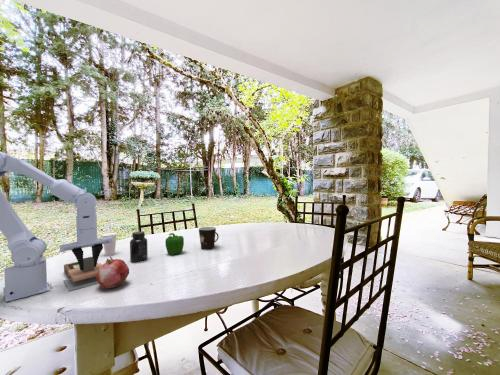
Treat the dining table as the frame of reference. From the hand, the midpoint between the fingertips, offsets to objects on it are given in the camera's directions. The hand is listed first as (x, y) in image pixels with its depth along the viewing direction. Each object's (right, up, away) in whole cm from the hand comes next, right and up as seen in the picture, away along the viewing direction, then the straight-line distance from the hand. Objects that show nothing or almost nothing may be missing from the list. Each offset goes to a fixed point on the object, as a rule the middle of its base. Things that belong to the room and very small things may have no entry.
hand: (88, 267), depth 79 cm
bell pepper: (+20, -4, +29) cm, 36 cm away
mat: (0, -4, 0) cm, 4 cm away
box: (-8, -4, +8) cm, 12 cm away
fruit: (+11, -4, -4) cm, 13 cm away
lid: (0, -2, 0) cm, 2 cm away
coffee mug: (+35, -3, +36) cm, 50 cm away
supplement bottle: (+8, -4, +20) cm, 22 cm away
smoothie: (-10, -4, +29) cm, 31 cm away
